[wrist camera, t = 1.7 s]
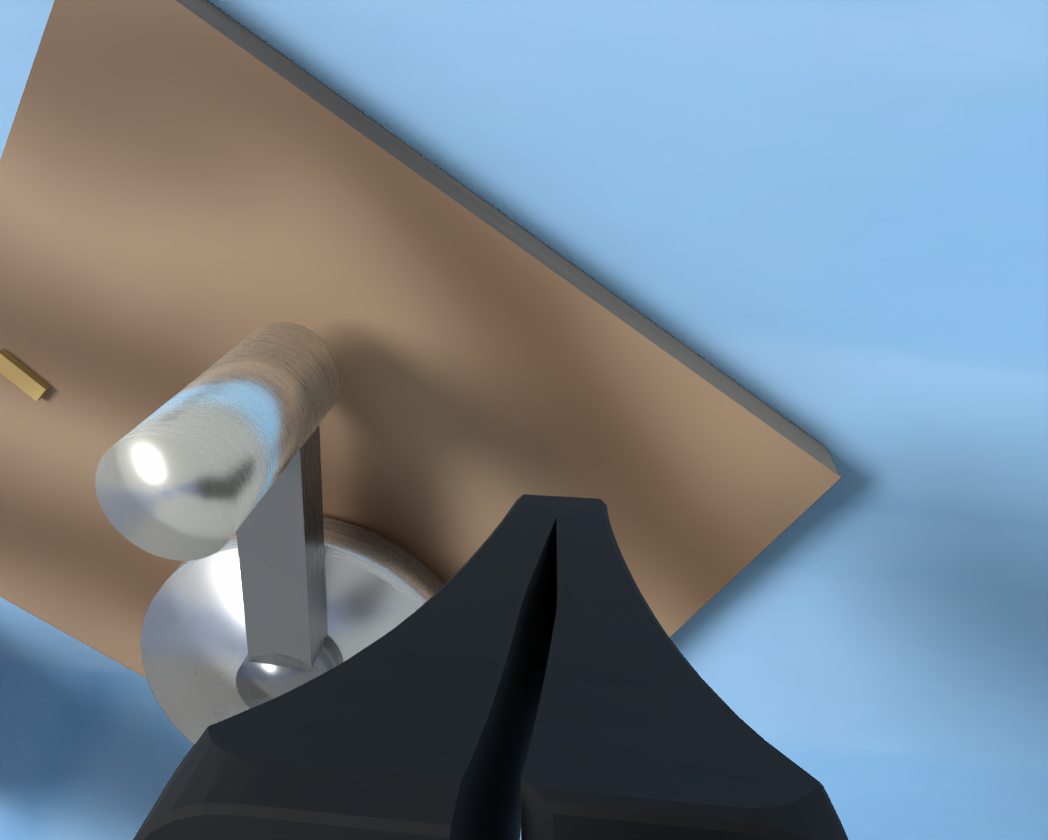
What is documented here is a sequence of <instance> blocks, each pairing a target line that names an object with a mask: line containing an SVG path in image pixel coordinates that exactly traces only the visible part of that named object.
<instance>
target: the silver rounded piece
mask: <svg viewBox="0 0 1048 840" xmlns="http://www.w3.org/2000/svg"><path fill="white" fill-rule="evenodd" d="M342 386H343V374H342V369H341V365H340V362H339V360H338V358H337V356H336V354H335V352H334V351H333V349H332V348H331V346H330V345H329V344H328V343H327V342H326V341H325V340H324V339H323V338H322V337H321V336H319V335H318V334H317V333H315V332H314V331H312V330H310V329H308V328H306V327H304V326H301V325H298V324H295V323H289V322H275V323H270V324H267V325H264V326H262V327H260V328H258V329H257V330H255V331H254V332H253V333H252V334H250V335H249V336H248V337H247V338H245V339H244V340H243V341H242V342H240V343H239V344H238V345H237V346H235V347H234V348H233V349H232V350H231V351H229V352H228V353H227V354H226V355H224V356H223V357H222V358H221V359H219V360H218V361H217V362H216V363H214V364H213V365H212V366H211V367H210V368H208V369H207V370H206V371H205V372H203V373H202V374H201V375H200V376H198V377H197V378H196V379H195V380H193V381H192V382H191V383H190V384H189V385H187V386H186V387H185V388H184V389H182V390H181V391H180V392H179V393H177V394H176V395H175V396H174V397H172V398H171V399H170V400H169V401H168V402H166V403H165V404H164V405H163V406H161V407H160V408H159V409H158V410H156V411H155V412H154V413H153V414H151V415H150V416H149V417H148V418H147V419H145V420H144V421H143V422H142V423H140V424H139V425H138V426H137V427H135V428H134V429H133V430H132V431H130V432H129V433H128V434H127V435H126V436H124V437H123V438H122V439H121V440H119V441H118V442H117V443H116V444H114V445H113V446H112V447H111V448H109V449H108V450H107V452H106V453H105V454H104V455H103V457H102V458H101V460H100V462H99V464H98V467H97V470H96V475H95V486H96V493H97V497H98V500H99V503H100V505H101V508H102V510H103V511H104V513H105V515H106V517H107V518H108V520H109V521H110V522H111V524H112V525H113V526H114V527H115V528H116V530H117V531H118V532H120V533H121V534H122V535H123V536H124V537H125V538H126V539H127V540H129V541H130V542H131V543H133V544H134V545H136V546H137V547H139V548H141V549H143V550H145V551H146V552H149V553H151V554H153V555H156V556H159V557H162V558H166V559H171V560H179V561H183V562H182V563H181V564H180V565H179V566H178V568H177V569H176V570H175V571H174V572H173V574H172V575H171V576H170V577H169V578H168V580H167V581H166V582H165V583H164V584H163V586H162V587H161V588H160V590H159V591H158V592H157V594H156V595H155V597H154V598H153V599H152V601H151V603H150V606H149V608H148V610H147V612H146V614H145V618H144V622H143V626H142V630H141V643H140V646H141V657H142V663H143V667H144V671H145V675H146V678H147V681H148V683H149V685H150V688H151V690H152V693H153V695H154V696H155V698H156V700H157V702H158V703H159V705H160V707H161V708H162V710H163V711H164V713H165V714H166V715H167V717H168V718H169V719H170V721H171V722H172V723H173V724H174V726H175V727H176V728H177V729H178V730H179V731H180V732H181V733H182V734H183V735H184V736H185V737H186V738H187V739H188V740H189V741H190V742H191V743H192V744H193V745H195V743H196V742H197V741H198V740H199V738H200V737H201V736H202V734H203V733H204V731H205V730H206V728H207V727H208V726H210V725H212V724H215V723H217V722H220V721H223V720H225V719H227V718H230V717H232V716H234V715H237V714H239V713H241V712H244V711H246V710H248V709H251V708H253V707H255V706H258V705H260V704H262V703H265V702H267V701H269V700H272V699H274V698H276V697H278V696H280V695H283V694H285V693H287V692H289V691H291V690H293V689H295V688H297V687H299V686H301V685H303V684H304V683H306V682H308V681H310V680H312V679H314V678H316V677H318V676H320V675H322V674H323V673H325V672H327V671H329V670H330V669H332V668H334V667H336V666H337V665H339V664H341V663H343V662H344V661H346V660H348V659H349V658H351V657H352V656H354V655H355V654H357V653H358V652H360V651H361V650H363V649H364V648H366V647H367V646H369V645H370V644H372V643H373V642H375V641H377V640H378V639H380V638H381V637H383V636H384V635H386V634H387V633H388V632H390V631H391V630H392V629H394V628H395V627H396V626H398V625H399V624H400V623H401V622H403V621H404V620H405V619H406V618H408V617H409V616H410V615H411V614H413V613H414V612H415V611H416V610H417V609H419V608H420V607H421V606H422V605H423V604H424V603H425V602H427V601H428V600H429V599H430V598H431V597H432V596H433V595H434V594H435V593H436V592H437V591H438V590H439V589H440V588H441V587H442V586H443V584H442V583H441V582H440V581H439V580H438V579H437V577H436V576H435V575H434V574H433V573H432V572H431V571H430V570H429V569H428V568H426V567H425V566H424V565H423V564H422V563H421V562H420V561H418V560H417V559H416V558H415V557H413V556H412V555H411V554H409V553H408V552H406V551H405V550H403V549H402V548H401V547H399V546H398V545H396V544H394V543H392V542H390V541H389V540H387V539H385V538H383V537H381V536H379V535H377V534H375V533H373V532H370V531H368V530H366V529H363V528H361V527H358V526H355V525H352V524H349V523H346V522H342V521H339V520H336V519H330V518H325V517H323V501H322V476H321V450H320V425H319V424H320V423H321V422H322V420H323V419H324V418H325V417H326V415H327V414H328V413H329V411H330V410H331V409H332V408H333V406H334V405H335V404H336V402H337V401H338V399H339V397H340V394H341V391H342Z"/></svg>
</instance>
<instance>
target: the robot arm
mask: <svg viewBox="0 0 1048 840" xmlns="http://www.w3.org/2000/svg"><path fill="white" fill-rule="evenodd" d="M520 832H521V838H522V840H848V838H847V835H846V833H845V831H844V828H843V826H842V824H841V821H840V819H839V817H838V815H837V813H836V811H835V809H834V807H833V805H832V803H831V801H830V799H829V797H828V795H827V793H826V791H825V789H824V787H823V785H822V784H821V783H820V782H819V781H817V780H816V779H815V778H814V777H812V776H811V775H810V774H808V773H807V772H806V771H804V770H803V769H802V768H800V767H799V766H798V765H797V764H795V763H794V762H793V761H791V760H790V759H789V758H787V757H786V756H785V755H783V754H782V753H781V752H780V751H778V750H777V749H776V748H774V747H773V746H772V745H770V744H769V743H768V742H766V741H765V740H764V739H763V738H762V737H761V736H759V735H758V734H757V733H756V732H755V731H754V730H753V729H752V728H750V727H749V726H748V725H747V724H746V723H745V722H744V721H743V720H742V719H740V718H739V717H738V716H737V715H736V714H735V713H734V712H733V711H732V710H731V709H730V707H729V706H728V705H727V704H726V703H725V702H724V701H723V700H722V699H721V698H720V697H719V696H718V695H717V694H716V693H715V692H714V691H713V690H712V689H711V688H710V687H709V685H708V684H707V683H706V682H705V681H704V680H703V679H702V678H701V677H700V676H699V675H698V673H697V672H696V671H695V670H694V668H693V667H692V666H691V665H690V664H689V662H688V661H687V660H686V659H685V657H684V656H683V655H682V654H681V652H680V651H679V650H678V648H677V647H676V646H675V644H674V643H673V642H672V640H671V639H670V638H669V636H668V635H667V633H666V632H665V630H664V629H663V627H662V626H661V625H660V623H659V621H658V620H657V618H656V617H655V615H654V614H653V612H652V610H651V609H650V607H649V605H648V604H647V602H646V600H645V599H644V597H643V595H642V594H641V592H640V590H639V588H638V586H637V584H636V583H635V581H634V579H633V577H632V575H631V573H630V571H629V568H628V566H627V564H626V562H625V560H624V558H623V556H622V554H621V551H620V549H619V547H618V544H617V541H616V539H615V536H614V533H613V531H612V527H611V524H610V521H609V516H608V511H607V505H606V504H605V503H604V502H603V501H602V500H601V499H597V498H580V497H562V496H544V495H527V494H523V495H522V496H521V497H520V498H518V499H517V500H516V502H515V503H514V504H513V506H512V507H511V509H510V510H509V512H508V513H507V514H506V516H505V517H504V518H503V520H502V521H501V522H500V524H499V525H498V526H497V527H496V529H495V530H494V531H493V532H492V534H491V535H490V536H489V537H488V538H487V540H486V541H485V542H484V543H483V544H482V545H481V546H480V548H479V549H478V550H477V551H476V552H475V553H474V554H473V556H472V557H471V558H470V559H469V560H468V561H467V562H466V563H465V564H464V566H463V567H462V568H461V569H460V570H459V571H458V572H457V573H456V574H455V575H454V576H453V577H452V578H451V579H450V580H449V581H448V582H447V583H446V584H444V585H443V586H442V587H441V588H440V589H439V590H438V591H437V592H436V593H435V594H434V595H433V596H432V597H431V598H430V599H429V600H428V601H427V602H425V603H424V604H423V605H422V606H421V607H420V608H419V609H417V610H416V611H415V612H414V613H413V614H411V615H410V616H409V617H408V618H406V619H405V620H404V621H403V622H401V623H400V624H399V625H398V626H396V627H395V628H394V629H392V630H391V631H390V632H388V633H387V634H386V635H384V636H383V637H381V638H380V639H378V640H377V641H375V642H373V643H372V644H370V645H369V646H367V647H366V648H364V649H363V650H361V651H360V652H358V653H357V654H355V655H354V656H352V657H351V658H349V659H348V660H346V661H344V662H343V663H341V664H339V665H337V666H336V667H334V668H332V669H330V670H329V671H327V672H325V673H323V674H322V675H320V676H318V677H316V678H314V679H312V680H310V681H308V682H306V683H304V684H303V685H301V686H299V687H297V688H295V689H293V690H291V691H289V692H287V693H285V694H283V695H280V696H278V697H276V698H274V699H272V700H269V701H267V702H265V703H262V704H260V705H258V706H255V707H253V708H251V709H248V710H246V711H244V712H241V713H239V714H237V715H234V716H232V717H230V718H227V719H225V720H223V721H220V722H217V723H215V724H212V725H210V726H208V727H207V728H206V730H205V731H204V733H203V734H202V736H201V737H200V738H199V740H198V741H197V742H196V743H195V745H194V746H193V747H192V749H191V750H190V751H189V752H188V754H187V755H186V756H185V758H184V759H183V761H182V762H181V764H180V765H179V767H178V768H177V770H176V771H175V773H174V774H173V776H172V777H171V779H170V780H169V782H168V784H167V785H166V787H165V789H164V790H163V792H162V793H161V795H160V797H159V798H158V800H157V802H156V803H155V805H154V807H153V808H152V810H151V811H150V813H149V815H148V816H147V818H146V820H145V821H144V823H143V825H142V826H141V828H140V829H139V831H138V833H137V834H136V836H135V838H134V839H133V840H520Z"/></svg>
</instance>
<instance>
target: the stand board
mask: <svg viewBox="0 0 1048 840" xmlns="http://www.w3.org/2000/svg"><path fill="white" fill-rule="evenodd" d="M275 322H289V323H295V324H298V325H301V326H304V327H306V328H308V329H310V330H312V331H314V332H315V333H317V334H318V335H319V336H321V337H322V338H323V339H324V340H325V341H326V342H327V343H328V344H329V345H330V346H331V348H332V349H333V351H334V352H335V354H336V356H337V358H338V360H339V362H340V365H341V369H342V374H343V386H342V391H341V394H340V397H339V399H338V401H337V402H336V404H335V405H334V406H333V408H332V409H331V410H330V411H329V413H328V414H327V415H326V417H325V418H324V419H323V420H322V422H321V423H320V424H319V425H320V450H321V476H322V501H323V517H325V518H330V519H336V520H339V521H342V522H346V523H349V524H352V525H355V526H358V527H361V528H363V529H366V530H368V531H370V532H373V533H375V534H377V535H379V536H381V537H383V538H385V539H387V540H389V541H390V542H392V543H394V544H396V545H398V546H399V547H401V548H402V549H403V550H405V551H406V552H408V553H409V554H411V555H412V556H413V557H415V558H416V559H417V560H418V561H420V562H421V563H422V564H423V565H424V566H425V567H426V568H428V569H429V570H430V571H431V572H432V573H433V574H434V575H435V576H436V577H437V579H438V580H439V581H440V582H441V583H442V584H443V585H444V584H446V583H447V582H448V581H449V580H450V579H451V578H452V577H453V576H454V575H455V574H456V573H457V572H458V571H459V570H460V569H461V568H462V567H463V566H464V564H465V563H466V562H467V561H468V560H469V559H470V558H471V557H472V556H473V554H474V553H475V552H476V551H477V550H478V549H479V548H480V546H481V545H482V544H483V543H484V542H485V541H486V540H487V538H488V537H489V536H490V535H491V534H492V532H493V531H494V530H495V529H496V527H497V526H498V525H499V524H500V522H501V521H502V520H503V518H504V517H505V516H506V514H507V513H508V512H509V510H510V509H511V507H512V506H513V504H514V503H515V502H516V500H517V499H518V498H520V497H521V496H522V495H523V494H527V495H544V496H562V497H580V498H597V499H601V500H602V501H603V502H604V503H605V504H606V505H607V511H608V516H609V521H610V524H611V527H612V531H613V533H614V536H615V539H616V541H617V544H618V547H619V549H620V551H621V554H622V556H623V558H624V560H625V562H626V564H627V566H628V568H629V571H630V573H631V575H632V577H633V579H634V581H635V583H636V584H637V586H638V588H639V590H640V592H641V594H642V595H643V597H644V599H645V600H646V602H647V604H648V605H649V607H650V609H651V610H652V612H653V614H654V615H655V617H656V618H657V620H658V621H659V623H660V625H661V626H662V627H663V629H664V630H665V632H666V633H667V635H668V636H669V637H671V636H672V635H673V634H674V633H675V632H676V631H677V630H678V629H679V628H680V627H681V626H682V625H683V624H684V623H686V622H687V621H688V620H689V619H690V618H691V617H692V616H693V615H694V614H695V613H696V612H697V611H698V610H700V609H701V608H702V607H703V606H704V605H705V604H706V603H707V602H708V601H709V600H710V599H711V598H712V597H713V596H715V595H716V594H717V593H718V592H719V591H720V590H721V589H722V588H723V587H724V586H725V585H726V584H727V583H729V582H730V581H731V580H732V579H733V578H734V577H735V576H736V575H737V574H738V573H739V572H740V571H741V570H742V569H744V568H745V567H746V566H747V565H748V564H749V563H750V562H751V561H752V560H753V559H754V558H755V557H756V556H758V555H759V554H760V553H761V552H762V551H763V550H764V549H765V548H766V547H767V546H768V545H769V544H770V543H771V542H773V541H774V540H775V539H776V538H777V537H778V536H779V535H780V534H781V533H782V532H783V531H784V530H785V529H787V528H788V527H789V526H790V525H791V524H792V523H793V522H794V521H795V520H796V519H797V518H798V517H799V516H800V515H802V514H803V513H804V512H805V511H806V510H807V509H808V508H809V507H810V506H811V505H812V504H813V503H814V502H816V501H817V500H818V499H819V498H820V497H821V496H822V495H823V494H824V493H825V492H826V491H827V490H828V489H829V488H831V487H832V486H833V485H834V484H835V483H836V482H837V481H838V480H839V479H840V478H841V476H840V474H839V472H838V470H837V468H836V466H835V464H834V462H833V460H832V458H831V456H830V453H829V451H828V449H827V448H826V447H825V446H823V445H822V444H820V443H819V442H818V441H816V440H815V439H814V438H812V437H811V436H809V435H808V434H807V433H805V432H804V431H802V430H801V429H800V428H798V427H797V426H796V425H794V424H793V423H791V422H790V421H789V420H787V419H786V418H784V417H783V416H782V415H780V414H779V413H778V412H776V411H775V410H773V409H772V408H771V407H769V406H768V405H766V404H765V403H764V402H762V401H761V400H760V399H758V398H757V397H755V396H754V395H753V394H751V393H750V392H748V391H747V390H746V389H744V388H743V387H742V386H740V385H739V384H737V383H736V382H735V381H733V380H732V379H730V378H729V377H728V376H726V375H725V374H724V373H722V372H721V371H719V370H718V369H717V368H715V367H714V366H712V365H711V364H710V363H708V362H707V361H706V360H704V359H703V358H701V357H700V356H699V355H697V354H696V353H694V352H693V351H692V350H690V349H689V348H688V347H686V346H685V345H683V344H682V343H681V342H679V341H678V340H676V339H675V338H674V337H672V336H671V335H670V334H668V333H667V332H665V331H664V330H663V329H661V328H660V327H659V326H657V325H656V324H654V323H653V322H652V321H650V320H649V319H647V318H646V317H645V316H643V315H642V314H641V313H639V312H638V311H636V310H635V309H634V308H632V307H631V306H629V305H628V304H627V303H625V302H624V301H623V300H621V299H620V298H618V297H617V296H616V295H614V294H613V293H611V292H610V291H609V290H607V289H606V288H605V287H603V286H602V285H600V284H599V283H598V282H596V281H595V280H593V279H592V278H591V277H589V276H588V275H587V274H585V273H584V272H582V271H581V270H580V269H578V268H577V267H575V266H574V265H573V264H571V263H570V262H569V261H567V260H566V259H564V258H563V257H562V256H560V255H559V254H557V253H556V252H555V251H553V250H552V249H551V248H549V247H548V246H546V245H545V244H544V243H542V242H541V241H539V240H538V239H537V238H535V237H534V236H533V235H531V234H530V233H528V232H527V231H526V230H524V229H523V228H521V227H520V226H519V225H517V224H516V223H515V222H513V221H512V220H510V219H509V218H508V217H506V216H505V215H503V214H502V213H501V212H499V211H498V210H497V209H495V208H494V207H492V206H491V205H490V204H488V203H487V202H485V201H484V200H483V199H481V198H480V197H479V196H477V195H476V194H474V193H473V192H472V191H470V190H469V189H467V188H466V187H465V186H463V185H462V184H461V183H459V182H458V181H456V180H455V179H454V178H452V177H451V176H449V175H448V174H447V173H445V172H444V171H443V170H441V169H440V168H438V167H437V166H436V165H434V164H433V163H431V162H430V161H429V160H427V159H426V158H425V157H423V156H422V155H420V154H419V153H418V152H416V151H415V150H414V149H412V148H411V147H409V146H408V145H407V144H405V143H404V142H402V141H401V140H400V139H398V138H397V137H396V136H394V135H393V134H391V133H390V132H389V131H387V130H386V129H384V128H383V127H382V126H380V125H379V124H378V123H376V122H375V121H373V120H372V119H371V118H369V117H368V116H366V115H365V114H364V113H362V112H361V111H360V110H358V109H357V108H355V107H354V106H353V105H351V104H350V103H348V102H347V101H346V100H344V99H343V98H342V97H340V96H339V95H337V94H336V93H335V92H333V91H332V90H330V89H329V88H328V87H326V86H325V85H324V84H322V83H321V82H319V81H318V80H317V79H315V78H314V77H312V76H311V75H310V74H308V73H307V72H306V71H304V70H303V69H301V68H300V67H299V66H297V65H296V64H294V63H293V62H292V61H290V60H289V59H288V58H286V57H285V56H283V55H282V54H281V53H279V52H278V51H276V50H275V49H274V48H272V47H271V46H270V45H268V44H267V43H265V42H264V41H263V40H261V39H260V38H258V37H257V36H256V35H254V34H253V33H252V32H250V31H249V30H247V29H246V28H245V27H243V26H242V25H240V24H239V23H238V22H236V21H235V20H234V19H232V18H231V17H229V16H228V15H227V14H225V13H224V12H222V11H221V10H220V9H218V8H217V7H216V6H214V5H213V4H211V3H210V2H209V1H207V0H55V1H54V4H53V7H52V10H51V13H50V16H49V19H48V22H47V25H46V28H45V31H44V33H43V36H42V39H41V42H40V45H39V48H38V51H37V54H36V57H35V60H34V63H33V66H32V69H31V72H30V75H29V78H28V81H27V83H26V86H25V89H24V92H23V95H22V98H21V101H20V104H19V107H18V110H17V113H16V116H15V119H14V122H13V125H12V128H11V131H10V134H9V136H8V139H7V142H6V145H5V148H4V151H3V154H2V157H1V160H0V597H2V598H3V599H5V600H7V601H9V602H11V603H12V604H14V605H16V606H18V607H19V608H21V609H23V610H25V611H27V612H28V613H30V614H32V615H34V616H36V617H37V618H39V619H41V620H43V621H45V622H46V623H48V624H50V625H52V626H54V627H55V628H57V629H59V630H61V631H63V632H64V633H66V634H68V635H70V636H72V637H73V638H75V639H77V640H79V641H81V642H82V643H84V644H86V645H88V646H90V647H91V648H93V649H95V650H97V651H99V652H100V653H102V654H104V655H106V656H107V657H109V658H111V659H113V660H115V661H116V662H118V663H120V664H122V665H124V666H125V667H127V668H129V669H131V670H133V671H134V672H136V673H138V674H140V675H142V676H143V677H145V678H146V675H145V671H144V667H143V663H142V657H141V646H140V643H141V630H142V626H143V622H144V618H145V614H146V612H147V610H148V608H149V606H150V603H151V601H152V599H153V598H154V597H155V595H156V594H157V592H158V591H159V590H160V588H161V587H162V586H163V584H164V583H165V582H166V581H167V580H168V578H169V577H170V576H171V575H172V574H173V572H174V571H175V570H176V569H177V568H178V566H179V565H180V564H181V563H182V562H183V561H179V560H171V559H166V558H162V557H159V556H156V555H153V554H151V553H149V552H146V551H145V550H143V549H141V548H139V547H137V546H136V545H134V544H133V543H131V542H130V541H129V540H127V539H126V538H125V537H124V536H123V535H122V534H121V533H120V532H118V531H117V530H116V528H115V527H114V526H113V525H112V524H111V522H110V521H109V520H108V518H107V517H106V515H105V513H104V511H103V510H102V508H101V505H100V503H99V500H98V497H97V493H96V486H95V475H96V470H97V467H98V464H99V462H100V460H101V458H102V457H103V455H104V454H105V453H106V452H107V450H108V449H109V448H111V447H112V446H113V445H114V444H116V443H117V442H118V441H119V440H121V439H122V438H123V437H124V436H126V435H127V434H128V433H129V432H130V431H132V430H133V429H134V428H135V427H137V426H138V425H139V424H140V423H142V422H143V421H144V420H145V419H147V418H148V417H149V416H150V415H151V414H153V413H154V412H155V411H156V410H158V409H159V408H160V407H161V406H163V405H164V404H165V403H166V402H168V401H169V400H170V399H171V398H172V397H174V396H175V395H176V394H177V393H179V392H180V391H181V390H182V389H184V388H185V387H186V386H187V385H189V384H190V383H191V382H192V381H193V380H195V379H196V378H197V377H198V376H200V375H201V374H202V373H203V372H205V371H206V370H207V369H208V368H210V367H211V366H212V365H213V364H214V363H216V362H217V361H218V360H219V359H221V358H222V357H223V356H224V355H226V354H227V353H228V352H229V351H231V350H232V349H233V348H234V347H235V346H237V345H238V344H239V343H240V342H242V341H243V340H244V339H245V338H247V337H248V336H249V335H250V334H252V333H253V332H254V331H255V330H257V329H258V328H260V327H262V326H264V325H267V324H270V323H275Z"/></svg>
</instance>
